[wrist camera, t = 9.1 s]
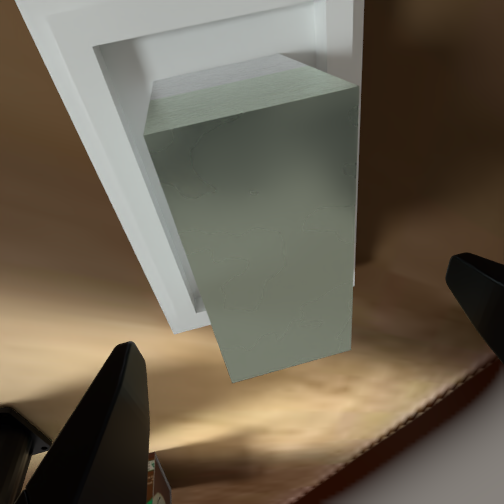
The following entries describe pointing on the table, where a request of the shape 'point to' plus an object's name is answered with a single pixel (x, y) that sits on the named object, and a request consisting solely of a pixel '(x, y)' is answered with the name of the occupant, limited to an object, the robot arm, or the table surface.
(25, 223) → the table surface
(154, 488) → the food container
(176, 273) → the white rectangular tray
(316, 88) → the block
